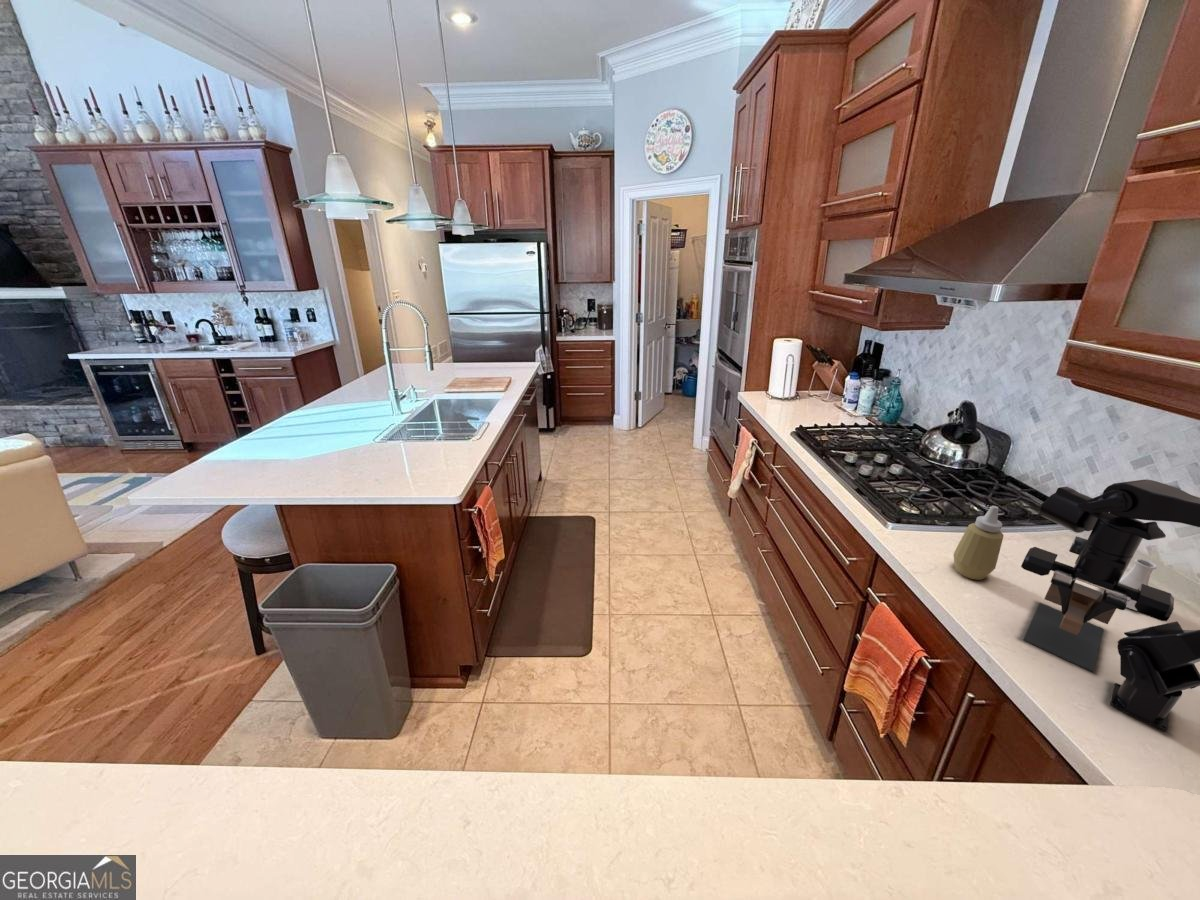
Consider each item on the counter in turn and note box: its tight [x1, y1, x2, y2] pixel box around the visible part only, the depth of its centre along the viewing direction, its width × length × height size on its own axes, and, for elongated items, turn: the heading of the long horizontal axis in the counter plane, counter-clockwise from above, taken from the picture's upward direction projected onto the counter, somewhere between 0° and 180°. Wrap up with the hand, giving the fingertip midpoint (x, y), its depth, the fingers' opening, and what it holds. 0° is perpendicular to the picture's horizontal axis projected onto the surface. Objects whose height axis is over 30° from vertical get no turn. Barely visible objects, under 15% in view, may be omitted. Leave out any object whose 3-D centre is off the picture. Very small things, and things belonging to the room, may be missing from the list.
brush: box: [1043, 582, 1117, 635], centre depth 88 cm, size 13×9×4 cm
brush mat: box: [1022, 602, 1104, 673], centre depth 94 cm, size 16×10×1 cm, turn 130°
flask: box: [1119, 558, 1158, 612], centre depth 101 cm, size 7×7×10 cm
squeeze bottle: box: [953, 505, 1004, 581], centre depth 108 cm, size 8×8×18 cm
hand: (1073, 617), depth 87 cm, fingers closed on brush, 2 cm apart
